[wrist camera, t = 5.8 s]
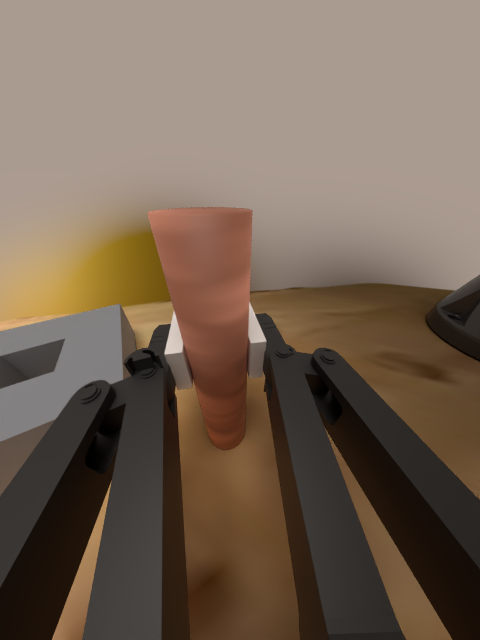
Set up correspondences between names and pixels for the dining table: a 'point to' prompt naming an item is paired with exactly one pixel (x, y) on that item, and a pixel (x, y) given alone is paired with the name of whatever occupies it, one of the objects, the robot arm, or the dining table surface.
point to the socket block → (54, 374)
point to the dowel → (211, 306)
